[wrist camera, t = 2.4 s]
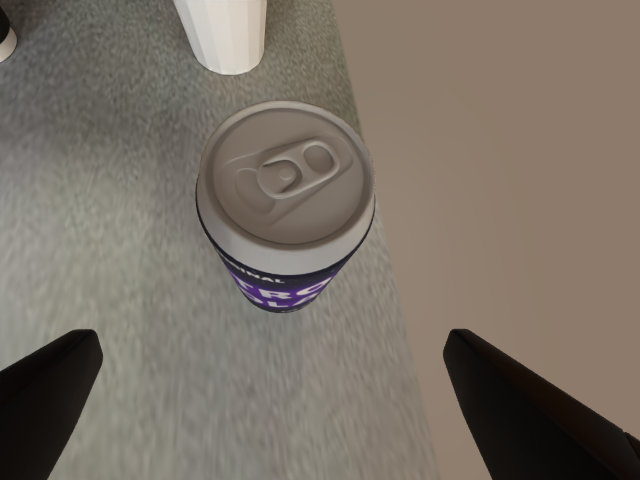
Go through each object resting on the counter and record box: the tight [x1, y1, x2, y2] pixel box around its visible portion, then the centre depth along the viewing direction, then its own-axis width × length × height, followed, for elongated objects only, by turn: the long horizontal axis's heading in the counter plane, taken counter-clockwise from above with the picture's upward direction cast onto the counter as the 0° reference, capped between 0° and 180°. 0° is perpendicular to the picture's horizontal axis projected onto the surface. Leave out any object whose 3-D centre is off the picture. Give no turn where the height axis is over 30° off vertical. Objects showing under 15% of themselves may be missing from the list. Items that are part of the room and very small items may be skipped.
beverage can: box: [195, 100, 375, 313], centre depth 14 cm, size 6×6×12 cm
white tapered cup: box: [173, 0, 267, 75], centre depth 22 cm, size 7×7×7 cm
